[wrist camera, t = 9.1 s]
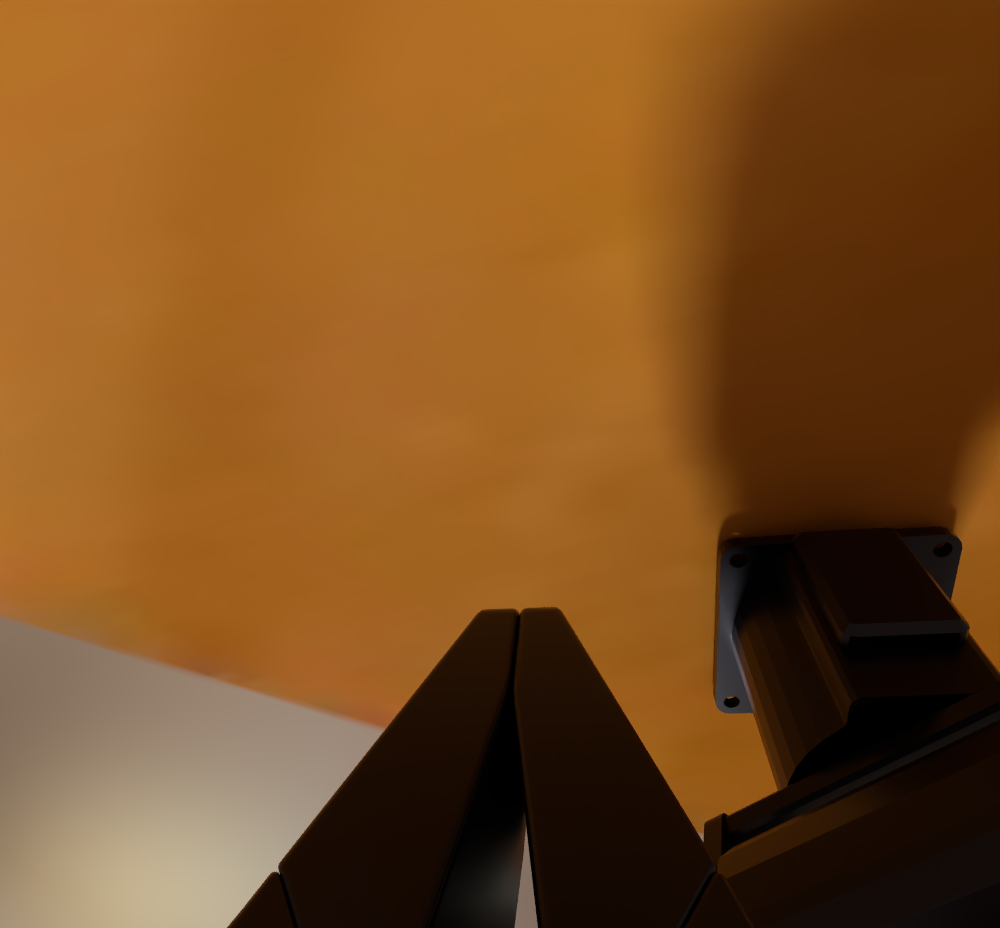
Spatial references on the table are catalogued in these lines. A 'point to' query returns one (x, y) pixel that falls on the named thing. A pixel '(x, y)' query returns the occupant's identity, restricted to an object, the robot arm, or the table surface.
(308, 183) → the table surface
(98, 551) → the table surface
